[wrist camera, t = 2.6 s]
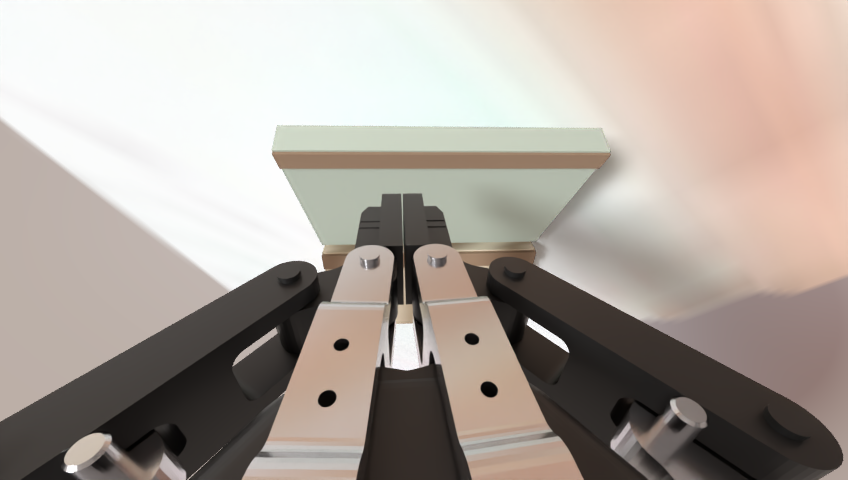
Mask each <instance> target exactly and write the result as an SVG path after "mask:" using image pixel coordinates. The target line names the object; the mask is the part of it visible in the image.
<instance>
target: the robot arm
mask: <svg viewBox="0 0 848 480" xmlns="http://www.w3.org/2000/svg"><path fill="white" fill-rule="evenodd" d="M403 245H404V270H405V296H406V304H412V306H413V329H414V336H415V342H416V348H417V354H418V361H419V367H420V368H417V369H414V370H409V371H405V370H399V369H393V368H392V364H393V353H394V342H395V332H396V318H397V315H398V305H404V277H403ZM528 318H530V319H531V320H533V321H535V322H536V323H538V324H539V325H541V326H542V327H544V328H545V329H547V330H548V331H550V332H551V333H553V334H555V335H556V336H558V337H559V338H560V339H562V340H563V341H564V342H565V344H566V345H567V347H568V349H569V353H568V352H566V351H565V350H563V349H562V348H560V347H559V346H557V345H556V344H554V343H553V342H551V341H550V340H548V339H547V338H545V337H544V336H542V335H541V334H539V333H538V332H536V331H535V330H533V329H532V328H530V327H529V326H527V322H528ZM275 327H276V329H277V332H278V334H277V335H275V336H274V337H273V338H271V339H270V340H268V341H267V342H266V343H264V344H263V345H262V346H260V347H259V348H258V349H256V350H255V351H254V352H252V353H251V354H249V355H248V356H247V357H245V358H244V359H243V360H241V361H240V362H239V363H237V364H236V365H235V366H233V367H232V365H233V362H234V361H235V359H236V357H237V356H238V355H239V354H240V353H241V352H242V351H243V350H244V349H246V348H247V347H249V346H250V345H252V344H253V343H254V342H255V341H257V340H259V339H260V338H261V337H263V336H264V335H265V334H267V333H268V332H270V331H271V330H272V329H274V328H275ZM284 391H286V392H285V394H283V395H282V396H280V395H281V394H282V393H283V392H284ZM279 396H280V397H279ZM222 447H223V448H222ZM221 448H222V449H221ZM220 449H221V450H220ZM219 450H220V451H219ZM218 451H219V452H218ZM217 452H218V453H217ZM216 453H217V454H216ZM214 455H215V456H214ZM212 456H213V457H212ZM211 457H212V458H211ZM210 458H211V459H210ZM209 459H210V460H209ZM208 460H209V461H208ZM207 461H208V462H207ZM842 461H843V453H842V450H841V448H840V445H839V444H838V442H837V440H836V439H835V438H834V436H833V435H832V434H831V432H830V431H829V430H828V429H827V428H826V427H825V426H824V425H823V424H822V423H821V422H820V421H819V420H818V419H817V418H815V417H814V416H813V415H812V414H810V413H809V412H808V411H806V410H805V409H804V408H802V407H801V406H799V405H798V404H796V403H795V402H793V401H791V400H789V399H787V398H785V397H784V396H782V395H780V394H778V393H776V392H774V391H772V390H770V389H769V388H767V387H765V386H763V385H761V384H759V383H757V382H755V381H753V380H751V379H750V378H748V377H745V376H744V375H742V374H740V373H738V372H736V371H734V370H732V369H731V368H729V367H727V366H725V365H723V364H721V363H719V362H717V361H715V360H714V359H712V358H710V357H708V356H706V355H704V354H702V353H700V352H698V351H697V350H694V349H693V348H691V347H689V346H687V345H685V344H683V343H681V342H679V341H678V340H675V339H674V338H672V337H670V336H668V335H666V334H664V333H662V332H660V331H659V330H657V329H655V328H653V327H651V326H649V325H647V324H645V323H643V322H642V321H640V320H638V319H636V318H634V317H632V316H630V315H628V314H626V313H624V312H623V311H621V310H619V309H617V308H615V307H613V306H611V305H609V304H607V303H606V302H604V301H602V300H600V299H598V298H596V297H594V296H592V295H590V294H588V293H587V292H585V291H583V290H581V289H579V288H577V287H575V286H573V285H571V284H569V283H568V282H566V281H564V280H562V279H560V278H558V277H556V276H554V275H552V274H551V273H549V272H547V271H545V270H543V269H541V268H539V267H537V266H535V265H533V264H532V263H530V262H528V261H526V260H523V259H520V258H516V257H500V258H497V259H495V260H493V261H492V262H491V263H490V266H489V268H484V267H479V266H474V265H471V264H468V263H466V262H464V261H462V258H461V256H460V254H459V253H458V252H457V251H456V250H455V249H454V248H452V244H451V240H450V236H449V233H448V229H447V225H446V221H445V218H444V214H443V212H442V211H441V210H440V209H439V208H438V207H437V206H424V203H423V197H422V193H407V194H403V228H402V201H401V194H382V200H381V206H380V207H367V208H366V209H365V210H364V211H363V212H362V213H361V217H360V223H359V229H358V233H357V239H356V244H355V249H354V250H352V251H351V252H350V253H349V254H348V255H347V256H346V259H345V261H344V264H343V265H342V266H340V267H338V268H335V269H332V270H328V271H324V272H320V273H317V270H316V268H315V267H314V266H313V265H312V264H310V263H308V262H304V261H291V262H286V263H282V264H279V265H277V266H275V267H273V268H271V269H269V270H268V271H266V272H264V273H262V274H261V275H259V276H257V277H255V278H254V279H252V280H250V281H248V282H247V283H245V284H243V285H241V286H239V287H238V288H236V289H234V290H232V291H231V292H229V293H227V294H225V295H224V296H222V297H220V298H218V299H216V300H215V301H213V302H211V303H210V304H208V305H206V306H204V307H202V308H201V309H199V310H197V311H195V312H194V313H192V314H190V315H188V316H186V317H185V318H183V319H181V320H179V321H178V322H176V323H174V324H172V325H171V326H169V327H167V328H165V329H164V330H162V331H160V332H158V333H156V334H155V335H153V336H151V337H150V338H148V339H146V340H144V341H142V342H141V343H139V344H137V345H135V346H134V347H132V348H130V349H128V350H126V351H125V352H123V353H121V354H119V355H118V356H116V357H114V358H112V359H111V360H109V361H107V362H105V363H103V364H102V365H100V366H98V367H97V368H95V369H93V370H91V371H89V372H88V373H86V374H84V375H83V376H80V377H79V378H77V379H75V380H74V381H72V382H70V383H68V384H66V385H65V386H63V387H61V388H59V389H58V390H56V391H54V392H52V393H51V394H49V395H47V396H45V397H43V398H42V399H40V400H38V401H36V402H35V403H33V404H31V405H29V406H28V407H26V408H24V409H22V410H21V411H19V412H17V413H15V414H13V415H12V416H10V417H8V418H6V419H5V420H3V421H1V422H0V480H187V479H188V478H189V477H190V476H191V475H192V474H193V473H195V472H196V471H197V470H198V469H199V468H200V467H201V466H202V465H204V464H205V463H206V462H207V463H206V464H205V465H204V466H203V467H202V468H201V469H200V470H199V471H197V472H196V473H195V474H194V475H193V476H192V477H191V478H190V479H189V480H819V479H820V478H822V477H824V476H825V475H827V474H829V473H830V472H832V471H834V470H835V469H837V468H838V467H839V466H840V465H841V464H842Z"/></svg>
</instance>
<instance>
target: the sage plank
mask: <svg viewBox="0 0 848 480" xmlns="http://www.w3.org/2000/svg"><path fill="white" fill-rule="evenodd" d="M272 151H273V152H272V155H273V157H274V159H275V161H276V162H277V164H278V166H279V168H280V169H282V170H283V172H284V174H285V176H286V178H287V180H288V181H289V183H290V185H291V187H292V189H293V191H294V193H295V195H296V197H297V198H298V200H299V202H300V204H301V206H302V208H303V210H304V212H305V213H306V215H307V217H308V219H309V221H310V223H311V225H312V227H313V228H314V230H315V232H316V234H317V236H318V238H319V240H320V242H321V243H322V245H355V244H356V239H357V233H358V229H359V223H360V217H361V213H362V212H363V211H364V210H365V209H366V208H367V207H380V206H381V200H382V194H401V201H402V228H403V194H407V193H422V197H423V203H424V206H437V207H438V208H439V209H440V210H441V211H442V212H443V214H444V218H445V221H446V225H447V229H448V233H449V236H450V240H451V243H474V242H534V241H537V239H538V238H539V237H540V236H541V235H542V233H543V232H544V231H545V230H546V229H547V227H548V226H549V225H550V224H551V223H552V221H553V220H554V219H555V218H556V217H557V215H558V214H559V213H560V212H561V211H562V209H563V208H564V207H565V206H566V205H567V203H568V202H569V201H570V200H571V199H572V197H573V196H574V195H575V194H576V193H577V191H578V190H579V189H580V188H581V187H582V185H583V184H584V183H585V182H586V181H587V179H588V178H589V177H590V176H591V175H592V173H593V172H594V171H595V170H596V169H599V168H600V167H601V166H602V165H603V164H604V162H605V161H606V160H607V159H608V158H609V157H610V152H611V150H610V148H609V145H608V143H607V140H606V138H605V135H604V133H603V130H602V128H520V127H406V126H293V125H277V128H276V133H275V138H274V142H273V147H272Z"/></svg>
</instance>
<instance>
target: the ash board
mask: <svg viewBox="0 0 848 480" xmlns="http://www.w3.org/2000/svg"><path fill="white" fill-rule="evenodd" d="M451 244H452V248H454V249H455V250H456V251H457V252H458V253H459V254H460V256H461V258H462V261H464V262H466V263H468V264H471V265H474V266H479V267H484V268H489V266H490V263H491V262H492V261H493V260H495V259H497V258H500V257H516V258H520V259H523V260H526V261H528V262H530V263H532V264H533V262H534V258H535V255H536V251H535V248H534V247H533V245H532V243H531V242H474V243H451ZM354 249H355V245H325V247H324V250H323V253H322V260H323V266H324V269H325V270H326V271H328V270H332V269H335V268H338V267H340V266H342V265H343V264H344V261H345V259H346V256H347V255H348V254H349V253H350V252H351V251H352V250H354ZM403 277H404V305H398V315H397V318H396V324H406V323H413V306H412V304H406V296H405V270H404V245H403Z"/></svg>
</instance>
